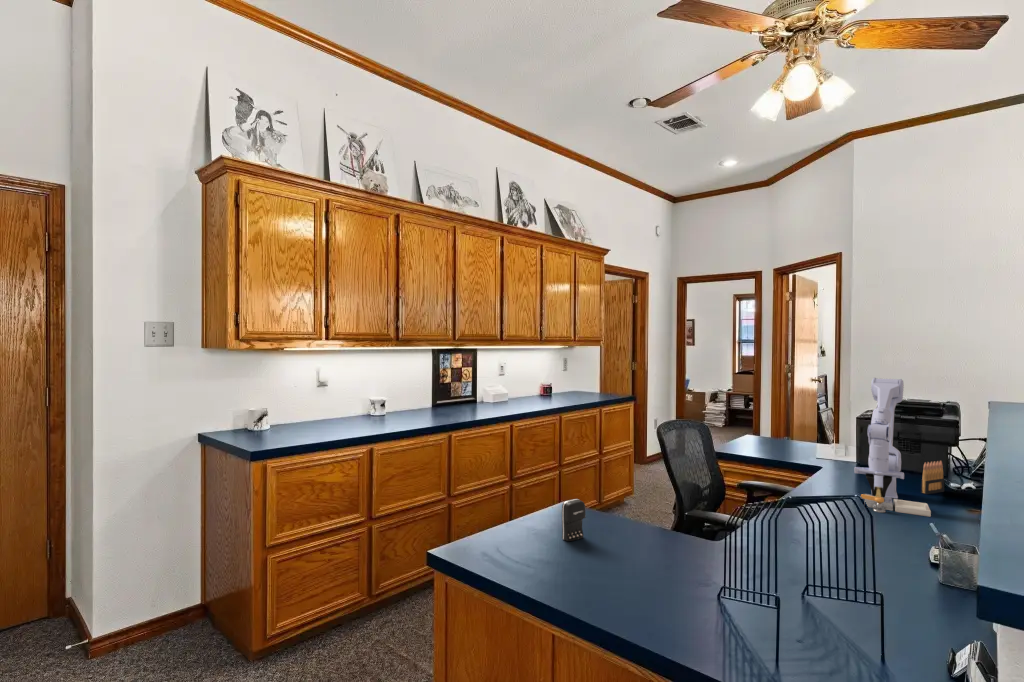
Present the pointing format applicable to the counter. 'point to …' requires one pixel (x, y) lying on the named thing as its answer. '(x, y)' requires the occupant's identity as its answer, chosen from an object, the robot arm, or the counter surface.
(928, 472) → the ammunition clip
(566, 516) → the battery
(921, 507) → the tray
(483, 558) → the counter surface
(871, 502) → the hitch block
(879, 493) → the pin
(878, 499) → the keeper
